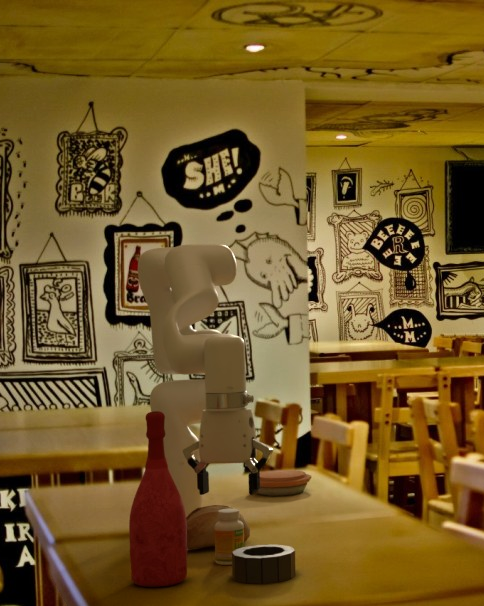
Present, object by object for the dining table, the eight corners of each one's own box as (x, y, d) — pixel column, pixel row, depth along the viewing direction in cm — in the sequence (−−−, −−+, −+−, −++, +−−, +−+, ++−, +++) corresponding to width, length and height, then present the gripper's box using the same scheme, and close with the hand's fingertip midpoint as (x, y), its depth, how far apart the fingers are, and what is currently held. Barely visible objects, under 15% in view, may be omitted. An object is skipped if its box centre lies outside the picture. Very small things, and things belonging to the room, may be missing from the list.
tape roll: (224, 583, 216) (223, 557, 216) (245, 568, 227) (244, 544, 226) (284, 584, 214) (283, 558, 214) (302, 569, 225) (301, 545, 225)
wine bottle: (135, 576, 222) (131, 409, 222) (191, 574, 223) (186, 407, 222) (126, 590, 212) (121, 415, 212) (184, 587, 213) (180, 413, 213)
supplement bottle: (238, 565, 229) (237, 513, 229) (210, 565, 230) (209, 512, 230) (248, 559, 234) (247, 508, 234) (221, 558, 235) (220, 507, 235)
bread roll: (168, 548, 245) (167, 508, 245) (234, 537, 255) (233, 498, 254) (192, 556, 238) (191, 514, 238) (259, 544, 247) (258, 504, 247)
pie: (308, 497, 300) (307, 476, 300) (244, 498, 301) (243, 477, 300) (315, 486, 316) (314, 466, 316) (254, 487, 316) (254, 467, 316)
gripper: (276, 399, 233) (279, 490, 233) (189, 400, 236) (192, 490, 237) (264, 403, 226) (266, 497, 226) (174, 404, 229) (177, 497, 229)
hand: (228, 493), depth 231 cm, fingers open, 9 cm apart
